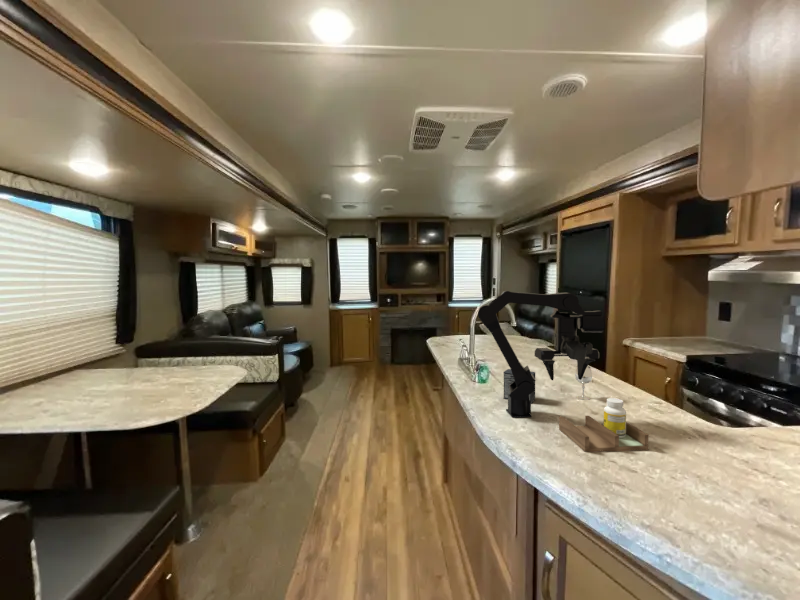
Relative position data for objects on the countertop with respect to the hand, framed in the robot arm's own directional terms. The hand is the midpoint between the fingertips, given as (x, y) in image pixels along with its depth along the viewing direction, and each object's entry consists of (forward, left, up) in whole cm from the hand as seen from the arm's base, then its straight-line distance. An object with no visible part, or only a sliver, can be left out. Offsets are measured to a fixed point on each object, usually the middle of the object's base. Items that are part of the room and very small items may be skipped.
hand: (566, 379), depth 116 cm
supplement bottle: (+6, -16, -12) cm, 20 cm away
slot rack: (+2, -16, -12) cm, 20 cm away
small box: (-8, +19, -13) cm, 24 cm away
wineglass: (+16, +18, -13) cm, 27 cm away
